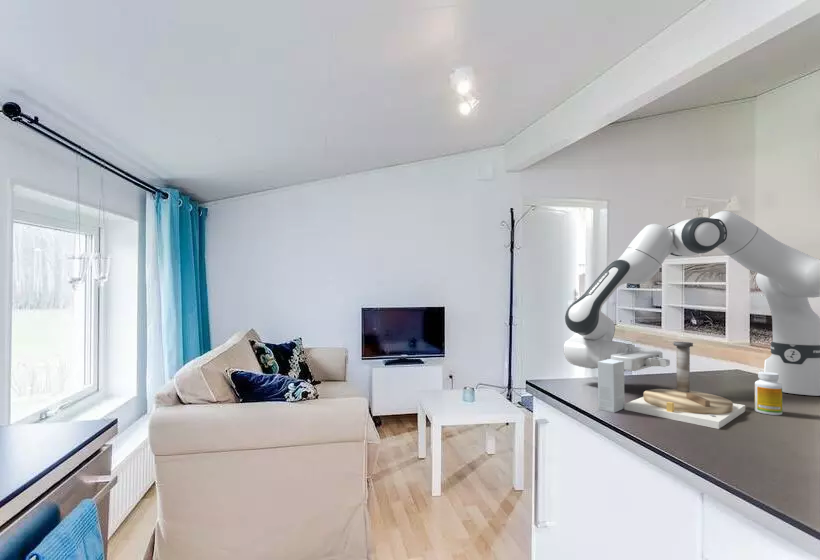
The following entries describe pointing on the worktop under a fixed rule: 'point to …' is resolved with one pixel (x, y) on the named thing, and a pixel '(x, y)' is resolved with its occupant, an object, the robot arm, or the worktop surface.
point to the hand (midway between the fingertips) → (668, 363)
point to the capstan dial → (687, 390)
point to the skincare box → (611, 385)
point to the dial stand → (685, 413)
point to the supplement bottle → (768, 394)
